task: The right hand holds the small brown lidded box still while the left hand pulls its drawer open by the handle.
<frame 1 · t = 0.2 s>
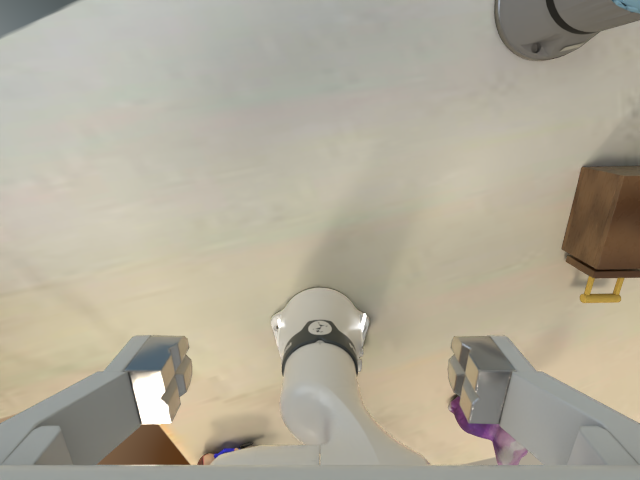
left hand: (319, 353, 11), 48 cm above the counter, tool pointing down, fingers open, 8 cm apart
drawer: (609, 248, 56), point 4 cm above the counter, slide at 0.8 cm
figurine character: (232, 450, 79), on the counter
figurine: (474, 399, 73), on the counter
brown lidded box: (599, 209, 58), on the counter
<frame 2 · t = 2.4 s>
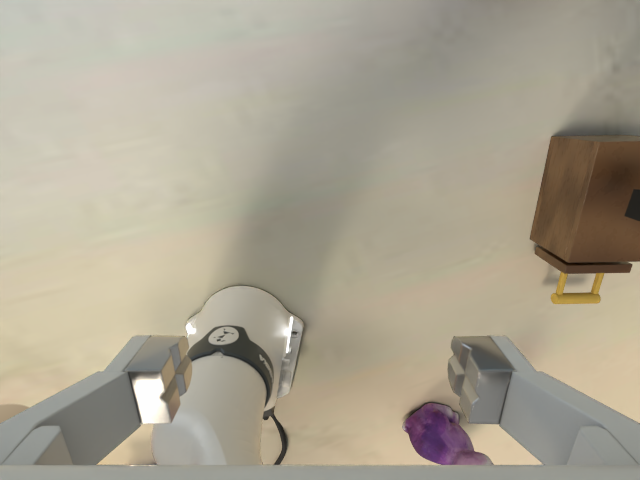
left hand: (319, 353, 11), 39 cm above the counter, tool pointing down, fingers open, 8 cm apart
drawer: (586, 236, 46), point 4 cm above the counter, slide at 0.8 cm
figurine: (434, 416, 63), on the counter
brown lidded box: (574, 189, 48), on the counter
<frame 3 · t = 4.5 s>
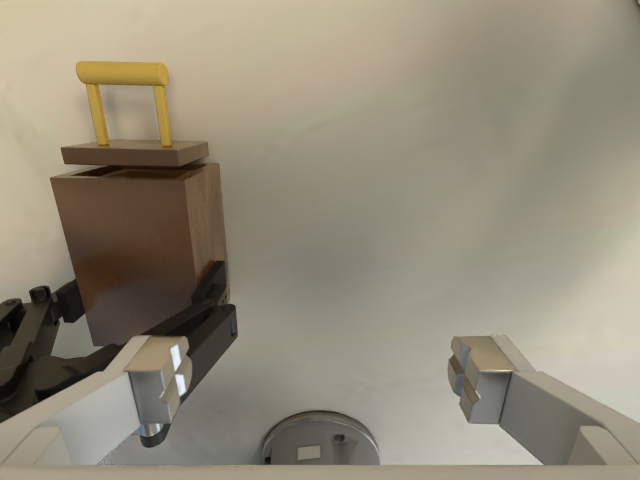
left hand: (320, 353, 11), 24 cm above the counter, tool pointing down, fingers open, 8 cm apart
right hand: (167, 272, 33), fingers closed on brown lidded box, 10 cm apart
drawer: (149, 191, 29), point 4 cm above the counter, slide at 0.8 cm
brown lidded box: (177, 234, 35), on the counter, touching right hand
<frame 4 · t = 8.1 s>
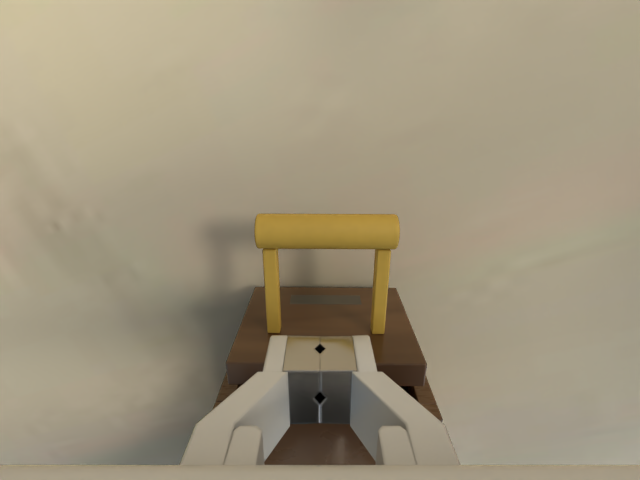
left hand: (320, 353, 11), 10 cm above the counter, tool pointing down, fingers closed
drawer: (325, 378, 19), point 4 cm above the counter, slide at 0.8 cm
brown lidded box: (324, 396, 25), on the counter, touching right hand
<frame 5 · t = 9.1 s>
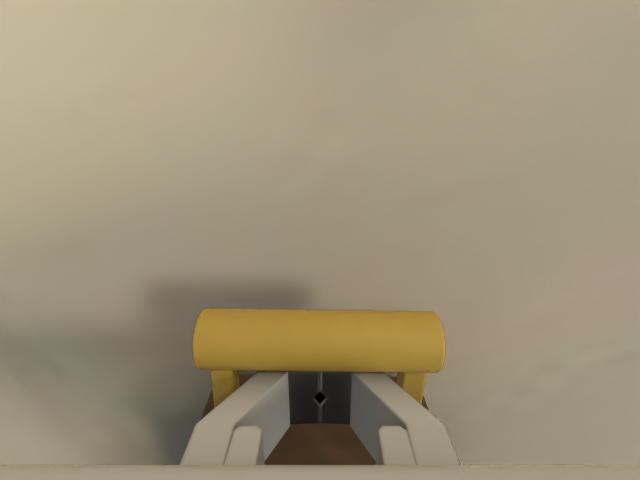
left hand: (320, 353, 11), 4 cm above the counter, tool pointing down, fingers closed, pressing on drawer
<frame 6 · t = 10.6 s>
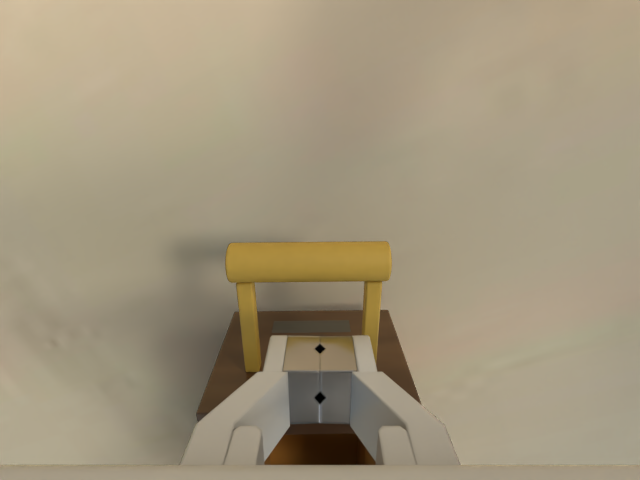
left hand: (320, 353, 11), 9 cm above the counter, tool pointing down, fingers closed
drawer: (312, 413, 17), point 5 cm above the counter, slide at 6.9 cm
when the right hand's fingers open (3 cm above the counter, at t = 11.9 s): brown lidded box stays where it is, on the counter.
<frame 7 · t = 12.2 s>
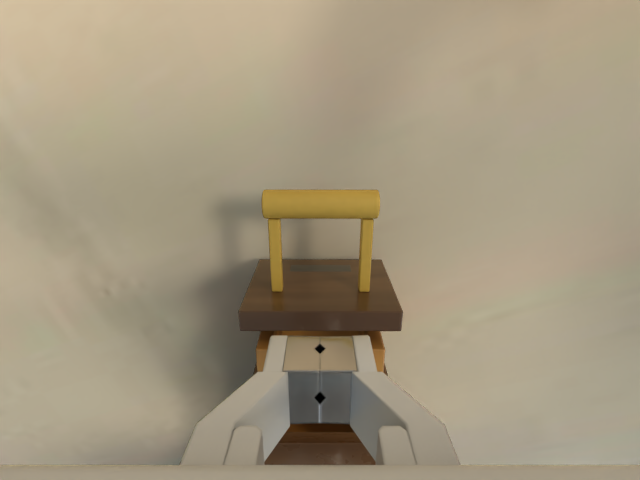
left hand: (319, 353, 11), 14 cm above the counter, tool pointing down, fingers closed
drawer: (320, 335, 22), point 4 cm above the counter, slide at 6.9 cm
brown lidded box: (320, 416, 30), on the counter
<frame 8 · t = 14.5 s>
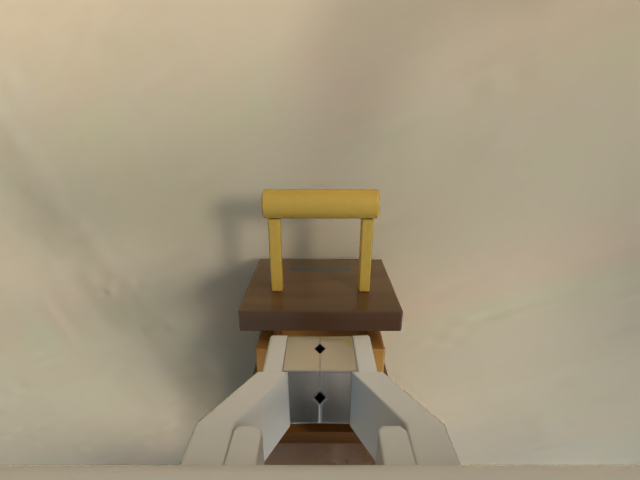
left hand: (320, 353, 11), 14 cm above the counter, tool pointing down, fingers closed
drawer: (320, 335, 22), point 4 cm above the counter, slide at 6.9 cm
brown lidded box: (320, 416, 30), on the counter
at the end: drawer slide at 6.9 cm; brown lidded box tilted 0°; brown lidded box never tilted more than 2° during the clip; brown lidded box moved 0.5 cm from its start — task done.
